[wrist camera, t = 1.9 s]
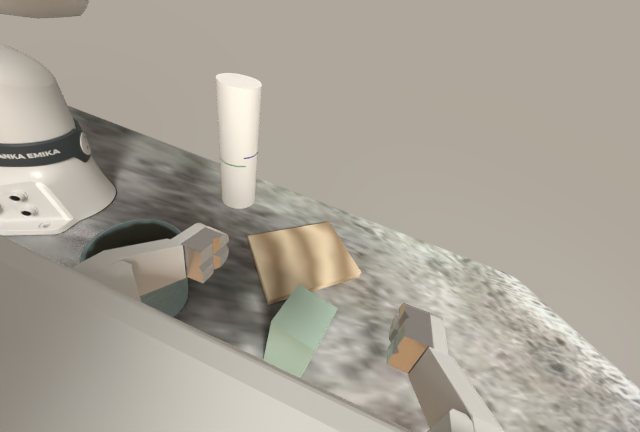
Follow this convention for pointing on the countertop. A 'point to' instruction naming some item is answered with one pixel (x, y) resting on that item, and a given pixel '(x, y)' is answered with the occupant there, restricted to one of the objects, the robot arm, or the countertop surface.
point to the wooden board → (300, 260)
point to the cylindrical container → (238, 137)
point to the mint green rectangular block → (298, 330)
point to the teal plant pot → (136, 233)
